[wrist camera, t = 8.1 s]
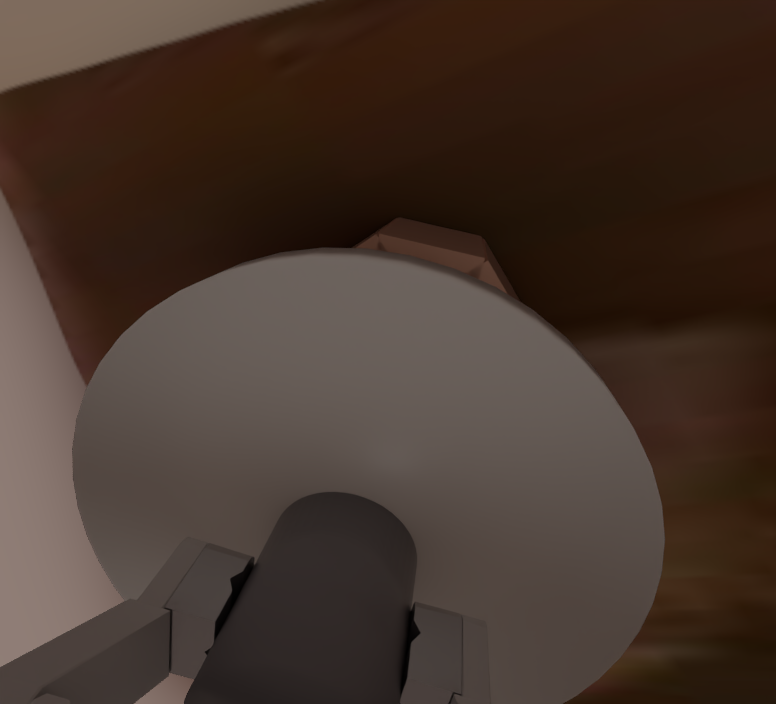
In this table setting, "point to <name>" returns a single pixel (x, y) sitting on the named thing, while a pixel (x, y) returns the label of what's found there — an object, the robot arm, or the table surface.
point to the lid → (372, 476)
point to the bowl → (440, 249)
